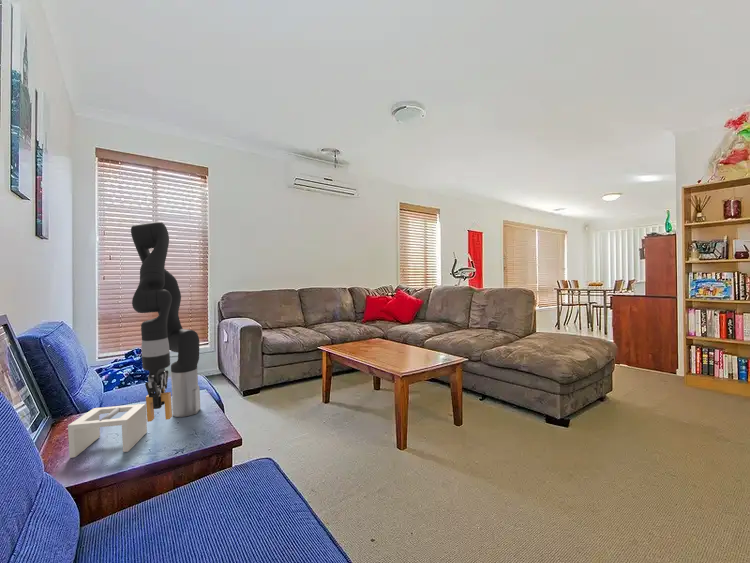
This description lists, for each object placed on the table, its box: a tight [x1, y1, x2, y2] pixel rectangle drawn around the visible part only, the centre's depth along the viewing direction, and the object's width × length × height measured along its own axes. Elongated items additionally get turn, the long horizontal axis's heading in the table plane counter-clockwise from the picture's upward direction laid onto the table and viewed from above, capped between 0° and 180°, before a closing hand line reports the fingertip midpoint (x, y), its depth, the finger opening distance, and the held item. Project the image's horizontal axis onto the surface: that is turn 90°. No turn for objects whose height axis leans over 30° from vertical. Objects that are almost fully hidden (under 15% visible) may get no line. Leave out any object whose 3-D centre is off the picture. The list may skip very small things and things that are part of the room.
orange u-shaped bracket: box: [145, 391, 173, 423], centre depth 116 cm, size 6×2×8 cm, turn 103°
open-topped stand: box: [67, 403, 148, 459], centre depth 118 cm, size 16×14×10 cm
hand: (159, 406), depth 116 cm, fingers closed on orange u-shaped bracket, 2 cm apart
